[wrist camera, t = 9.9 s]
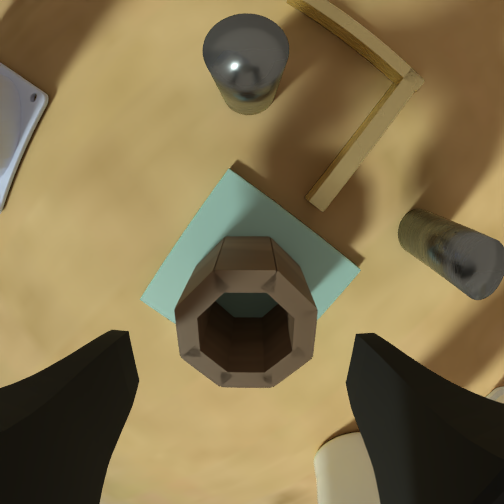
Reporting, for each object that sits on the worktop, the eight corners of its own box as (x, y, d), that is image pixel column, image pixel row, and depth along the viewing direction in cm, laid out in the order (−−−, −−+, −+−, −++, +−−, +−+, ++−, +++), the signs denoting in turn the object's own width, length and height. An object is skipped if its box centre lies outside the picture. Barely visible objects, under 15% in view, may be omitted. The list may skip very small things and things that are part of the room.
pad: (142, 295, 16) (139, 299, 16) (229, 168, 14) (228, 168, 14) (262, 371, 17) (262, 376, 17) (357, 266, 16) (360, 269, 15)
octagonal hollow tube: (200, 329, 16) (184, 385, 12) (193, 236, 15) (170, 269, 10) (296, 330, 16) (308, 386, 12) (301, 236, 15) (321, 269, 10)
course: (190, 115, 13) (150, 89, 8) (356, -59, 10) (389, -117, 4) (402, 280, 16) (459, 335, 10) (519, 98, 12) (585, 94, 7)
